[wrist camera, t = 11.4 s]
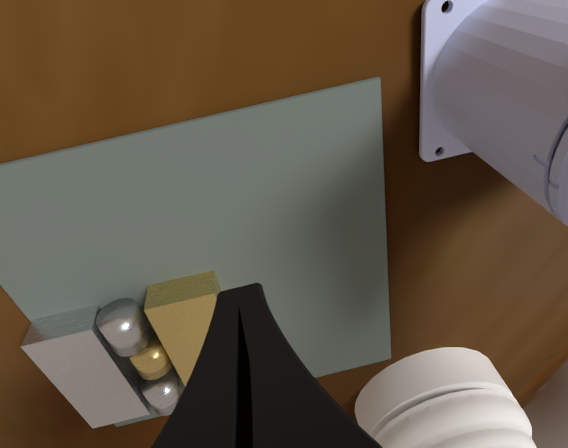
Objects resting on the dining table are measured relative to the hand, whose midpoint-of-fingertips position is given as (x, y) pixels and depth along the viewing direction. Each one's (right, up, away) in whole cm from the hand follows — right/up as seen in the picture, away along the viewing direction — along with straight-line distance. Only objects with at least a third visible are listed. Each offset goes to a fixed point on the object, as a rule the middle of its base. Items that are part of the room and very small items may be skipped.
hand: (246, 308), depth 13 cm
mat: (-3, -1, +13) cm, 13 cm away
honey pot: (+14, -12, +24) cm, 30 cm away
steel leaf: (-10, -6, +14) cm, 18 cm away
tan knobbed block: (-5, -4, +14) cm, 15 cm away
